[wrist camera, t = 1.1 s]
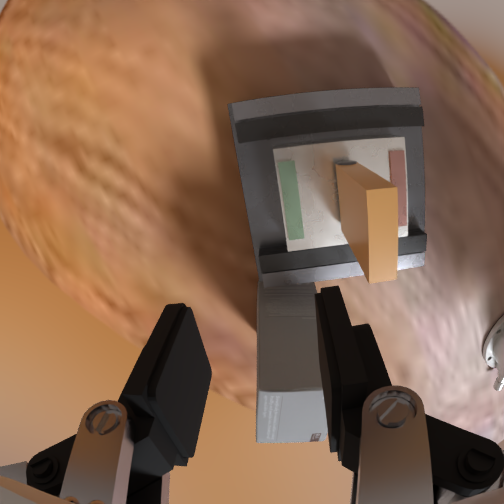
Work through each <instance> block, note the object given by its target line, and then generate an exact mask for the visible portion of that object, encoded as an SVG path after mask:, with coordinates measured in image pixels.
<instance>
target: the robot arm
mask: <svg viewBox="0 0 504 504" xmlns="http://www.w3.org/2000/svg"><path fill="white" fill-rule="evenodd" d="M314 295H315V308H316V322H317V336H318V352H319V365H320V373H321V380H322V388H323V395H324V403H325V411H326V419H327V428H328V437H329V446H330V452H337V453H338V461H341V462H342V466H344V467H346V468H347V469H349V470H351V471H353V478H352V489H351V499H350V504H504V450H501V448H500V447H499V446H498V445H497V444H496V443H495V442H493V441H491V440H490V439H487V438H484V437H482V436H479V435H476V434H474V433H471V432H469V431H466V430H463V429H461V428H458V427H456V426H453V425H451V424H448V423H446V422H443V421H441V420H439V419H436V418H434V417H431V416H429V415H427V414H425V411H424V405H423V402H422V400H421V398H420V397H419V396H418V394H417V393H416V392H414V391H412V390H411V389H409V388H406V387H403V386H392V384H391V381H390V378H389V376H388V373H387V370H386V367H385V364H384V361H383V359H382V356H381V353H380V350H379V348H378V345H377V342H376V340H375V337H374V334H373V332H372V329H371V327H370V325H369V324H362V325H356V326H352V325H351V322H350V319H349V316H348V313H347V310H346V307H345V303H344V300H343V297H342V294H341V291H340V288H339V286H332V287H325V288H321V293H315V294H314ZM483 358H484V360H485V362H486V363H487V365H488V366H490V367H492V368H497V369H498V377H497V379H496V381H495V383H494V389H495V390H497V391H500V390H501V389H502V388H503V386H504V315H503V316H502V317H501V318H500V319H499V320H498V322H497V323H496V324H495V325H494V327H493V328H492V330H491V331H490V333H489V335H488V337H487V339H486V342H485V344H484V348H483ZM211 376H212V371H211V366H210V363H209V360H208V357H207V354H206V351H205V348H204V345H203V342H202V339H201V336H200V333H199V330H198V327H197V324H196V321H195V318H194V314H193V311H192V309H191V307H186V305H185V304H184V303H178V304H168V305H166V306H165V308H164V310H163V312H162V314H161V316H160V318H159V320H158V322H157V324H156V326H155V328H154V330H153V332H152V334H151V336H150V338H149V340H148V342H147V344H146V345H145V347H144V348H143V350H142V352H141V354H140V356H139V358H138V360H137V362H136V364H135V366H134V368H133V370H132V372H131V374H130V377H129V379H128V381H127V383H126V385H125V387H124V389H123V391H122V393H121V395H120V397H119V400H118V402H117V401H112V400H107V401H101V402H99V403H97V404H95V405H93V406H92V407H90V408H89V409H88V410H87V411H86V412H85V413H84V415H83V417H82V419H81V422H80V425H79V428H78V432H77V434H75V435H73V436H71V437H70V438H67V439H65V440H63V441H61V442H59V443H58V444H55V445H54V446H51V447H49V448H48V449H45V450H44V451H41V452H39V453H38V454H36V455H35V456H33V458H32V459H31V460H30V461H29V463H27V462H26V461H25V462H21V463H16V464H11V465H7V466H2V467H0V504H169V482H170V473H169V471H171V470H173V467H174V465H177V466H187V463H188V458H189V457H191V458H192V457H193V456H194V453H195V449H196V444H197V440H198V435H199V431H200V426H201V422H202V417H203V413H204V408H205V404H206V399H207V395H208V390H209V386H210V381H211Z"/></svg>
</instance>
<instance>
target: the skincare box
mask: <svg viewBox="0 0 504 504" xmlns="http://www.w3.org/2000/svg"><path fill="white" fill-rule="evenodd" d="M315 293H317V290H316V287H315V283H314V282H309V283H301V284H293V285H284V286H276V287H268V288H264V283H263V281H262V282H260V281H258V290H257V402H256V442H257V443H288V442H312V441H324V440H325V439H326V436H327V433H328V428H327V419H326V411H325V403H324V395H323V388H322V380H321V373H320V365H319V352H318V336H317V322H316V308H315V295H314V294H315Z"/></svg>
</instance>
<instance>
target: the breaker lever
mask: <svg viewBox="0 0 504 504" xmlns="http://www.w3.org/2000/svg"><path fill="white" fill-rule="evenodd" d="M335 166H336V175H337V185H338V195H339V207H340V219H341V231H342V233H343V235H344V236H345V238H346V240H347V242H348V244H349V246H350V248H351V249H352V251H353V253H354V255H355V257H356V259H357V261H358V263H359V265H360V267H361V269H362V271H363V273H364V275H365V277H366V279H367V281H368V283H369V284H370V283H377V282H384V281H390V280H396V279H397V266H398V191H397V187H396V186H395V185H393V184H392V183H390V182H389V181H387V180H385V179H384V178H382V177H381V176H379V175H378V174H376V173H374V172H373V171H371V170H369V169H368V168H366V167H364V166H363V165H361V164H359V163H358V162H357V161H352V160H348V161H340V162H337V164H335Z"/></svg>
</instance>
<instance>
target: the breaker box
mask: <svg viewBox="0 0 504 504" xmlns="http://www.w3.org/2000/svg"><path fill="white" fill-rule="evenodd" d="M227 105H228V110H229V116H230V121H231V127H232V132H233V137H234V143H235V148H236V154H237V160H238V165H239V171H240V176H241V182H242V187H243V193H244V198H245V204H246V209H247V215H248V220H249V226H250V231H251V237H252V242H253V248H254V254H255V259H256V265H257V270H258V276H259V281H260V282H262V281H263V283H264V288H268V287H276V286H284V285H293V284H301V283H309V282H316V281H324V280H331V279H339V278H346V277H353V276H360V275H364V273H363V271H362V269H361V267H360V265H359V263H358V261H357V259H356V257H355V255H354V253H353V251H352V249H351V248H350V246H349V244H348V242H347V240H346V238H345V236H344V235H343V233H342V231H341V219H340V207H339V195H338V185H337V175H336V166H335V164H337V162H340V161H348V160H352V161H357V162H358V163H359V164H361V165H363V166H364V167H366V168H368V169H369V170H371V171H373V172H374V173H376V174H378V175H379V176H381V177H382V178H384V179H385V180H387V181H389V182H390V183H392V184H393V185H395V186H396V187H397V191H398V266H397V270H401V269H407V268H414V267H420V266H424V260H425V252H424V251H426V241H427V234H426V233H425V232H424V226H425V178H424V155H423V140H422V127H421V126H424V119H423V109H422V107H419V105H421V101H420V93H419V88H359V89H341V90H327V91H316V92H306V93H297V94H288V95H281V96H273V97H266V98H260V99H253V100H247V101H241V102H236V103H230V104H227Z"/></svg>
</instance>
